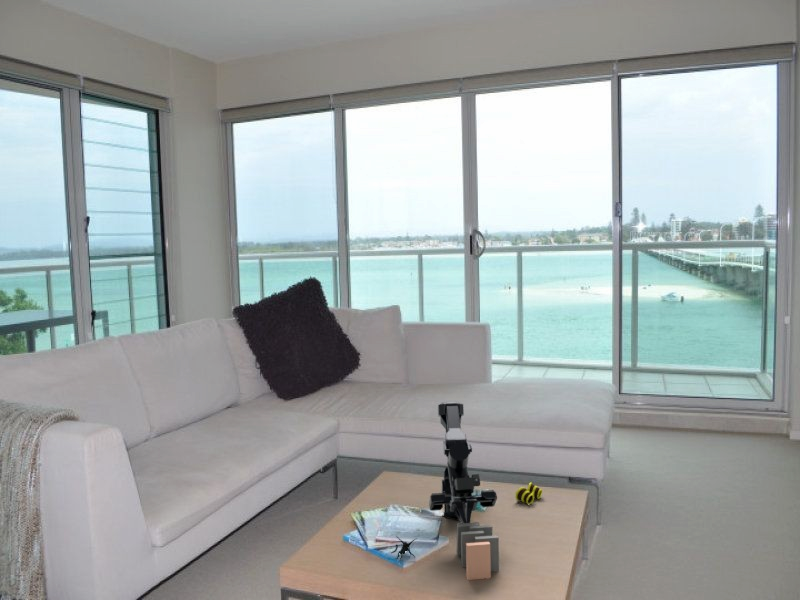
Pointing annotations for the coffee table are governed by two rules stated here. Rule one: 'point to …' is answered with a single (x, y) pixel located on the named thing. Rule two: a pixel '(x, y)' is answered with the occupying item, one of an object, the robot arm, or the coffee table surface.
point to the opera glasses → (528, 494)
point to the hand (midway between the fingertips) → (467, 529)
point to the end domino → (478, 560)
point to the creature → (403, 548)
